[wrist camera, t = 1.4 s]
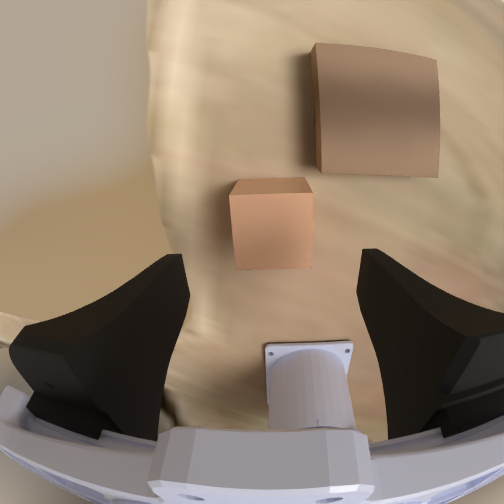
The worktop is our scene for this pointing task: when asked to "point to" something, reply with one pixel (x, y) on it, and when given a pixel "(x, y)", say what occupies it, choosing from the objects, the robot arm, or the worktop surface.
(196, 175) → the worktop surface
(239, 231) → the cube
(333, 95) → the walnut block
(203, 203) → the worktop surface
